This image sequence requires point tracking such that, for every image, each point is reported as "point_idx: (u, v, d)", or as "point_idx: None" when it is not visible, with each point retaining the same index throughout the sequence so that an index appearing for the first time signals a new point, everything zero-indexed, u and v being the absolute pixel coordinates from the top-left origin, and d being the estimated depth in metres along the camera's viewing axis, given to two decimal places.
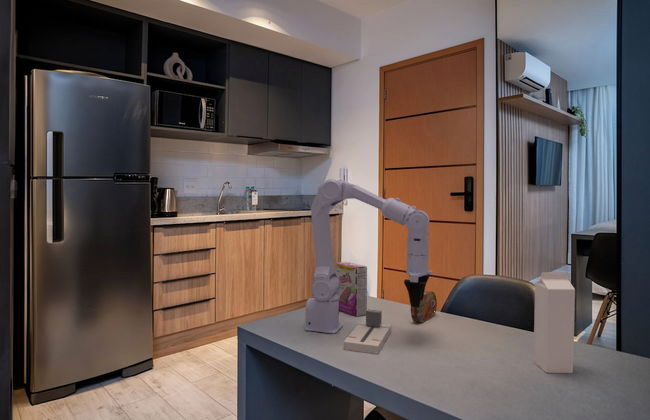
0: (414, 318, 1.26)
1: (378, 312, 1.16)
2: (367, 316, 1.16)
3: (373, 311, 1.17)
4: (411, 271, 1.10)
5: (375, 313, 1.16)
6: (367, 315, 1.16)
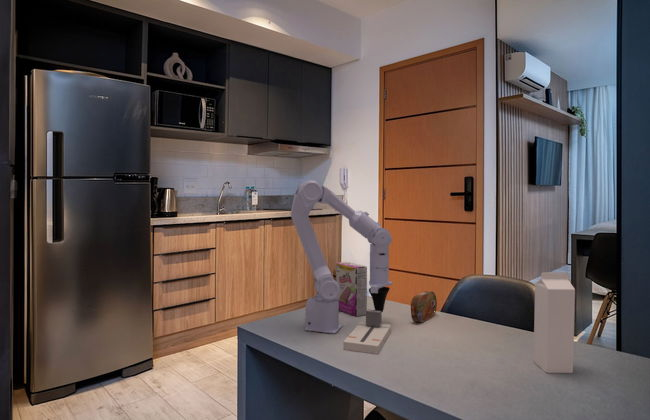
0: (414, 318, 1.26)
1: (378, 312, 1.16)
2: (367, 316, 1.16)
3: (373, 311, 1.17)
4: (373, 283, 1.21)
5: (375, 313, 1.16)
6: (367, 315, 1.16)
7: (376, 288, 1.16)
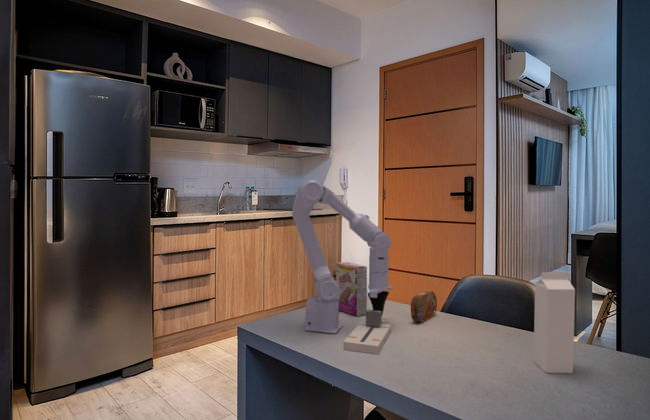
0: (414, 318, 1.26)
1: (378, 312, 1.16)
2: (367, 316, 1.16)
3: (373, 311, 1.17)
4: (372, 287, 1.20)
5: (375, 313, 1.16)
6: (367, 315, 1.16)
7: (375, 293, 1.16)
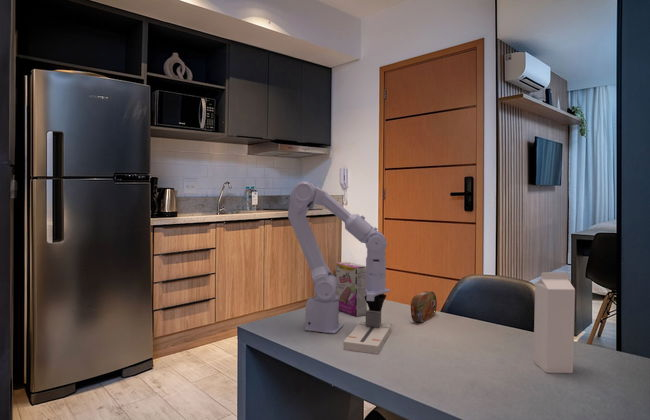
0: (414, 318, 1.26)
1: (378, 312, 1.15)
2: (367, 316, 1.16)
3: (373, 311, 1.16)
4: (369, 290, 1.17)
5: (375, 313, 1.15)
6: (367, 315, 1.16)
7: (372, 296, 1.12)
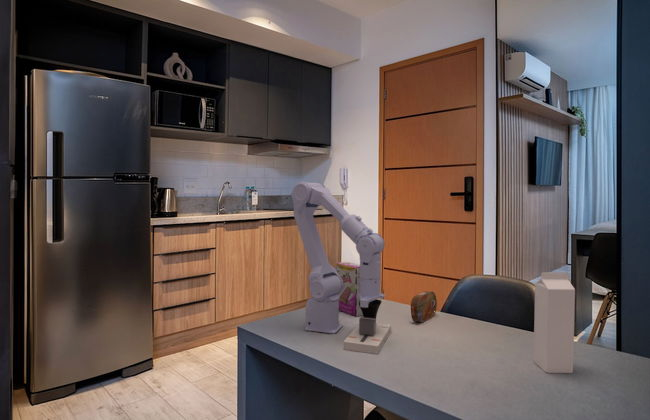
0: (414, 318, 1.26)
1: (372, 319, 1.09)
2: (360, 324, 1.09)
3: (367, 318, 1.10)
4: (363, 295, 1.10)
5: (369, 321, 1.09)
6: (360, 323, 1.09)
7: (366, 302, 1.05)
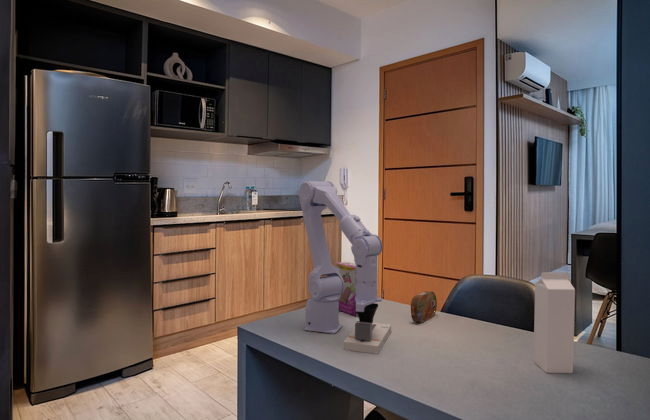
0: (414, 318, 1.26)
1: (368, 324, 1.05)
2: (356, 328, 1.05)
3: (363, 323, 1.06)
4: (359, 299, 1.06)
5: (365, 325, 1.05)
6: (356, 327, 1.05)
7: (362, 306, 1.01)
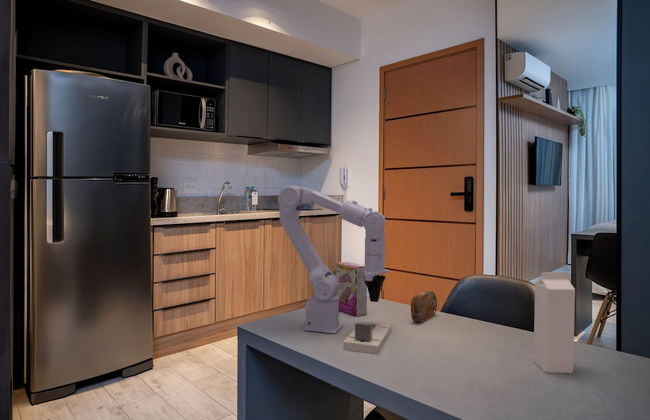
0: (414, 318, 1.26)
1: (368, 324, 1.05)
2: (356, 329, 1.05)
3: (363, 323, 1.06)
4: (367, 270, 1.15)
5: (365, 325, 1.05)
6: (356, 327, 1.05)
7: (370, 275, 1.10)
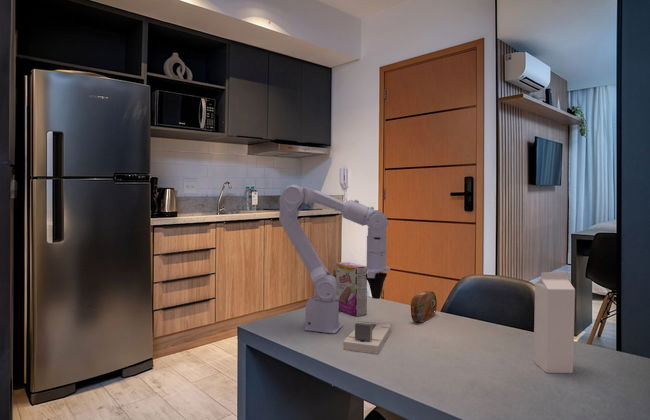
0: (414, 318, 1.26)
1: (368, 324, 1.05)
2: (356, 329, 1.05)
3: (363, 323, 1.06)
4: (370, 268, 1.17)
5: (365, 325, 1.05)
6: (356, 327, 1.05)
7: (373, 273, 1.12)
